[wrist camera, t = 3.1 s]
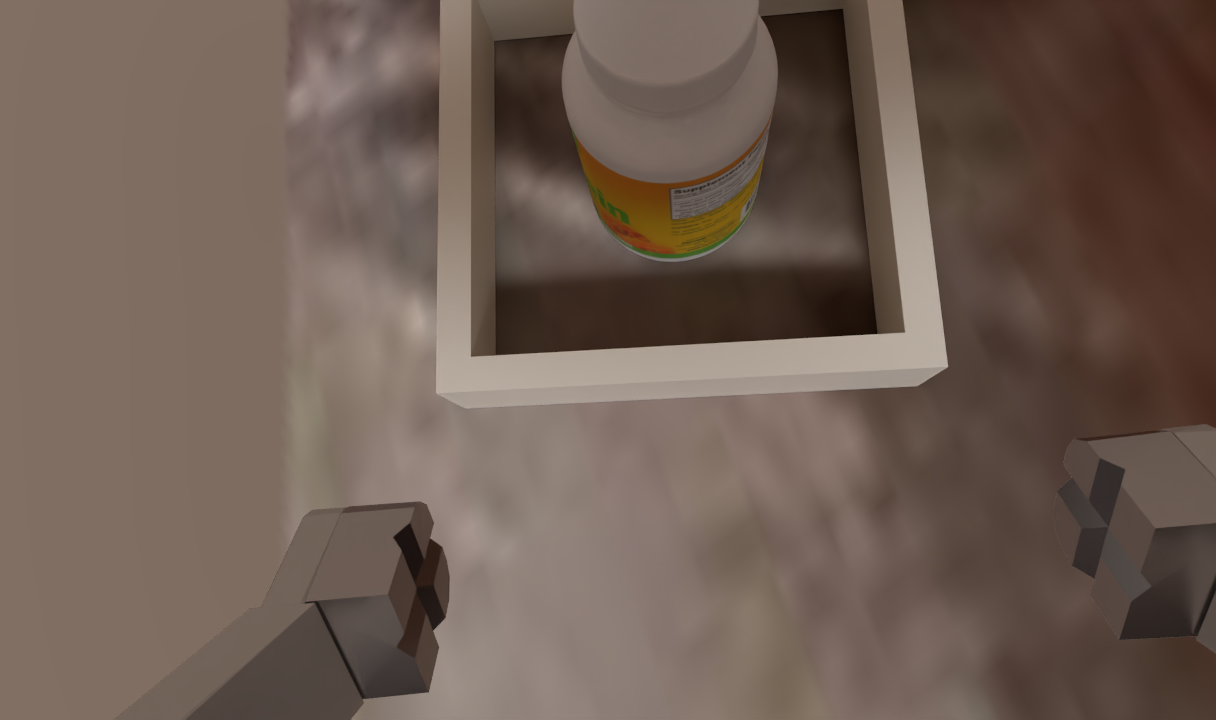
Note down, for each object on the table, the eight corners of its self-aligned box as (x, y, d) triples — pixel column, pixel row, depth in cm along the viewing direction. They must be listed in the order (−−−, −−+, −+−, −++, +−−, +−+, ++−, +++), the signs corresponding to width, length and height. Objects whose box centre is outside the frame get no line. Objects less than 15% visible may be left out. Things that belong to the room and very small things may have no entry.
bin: (870, -21, 27) (891, -87, 24) (917, 386, 24) (947, 366, 21) (466, 18, 28) (440, -40, 26) (465, 408, 26) (436, 393, 23)
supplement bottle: (566, 158, 27) (498, -41, 18) (709, 86, 27) (718, -151, 18) (637, 294, 26) (605, 159, 16) (786, 219, 26) (841, 41, 16)
